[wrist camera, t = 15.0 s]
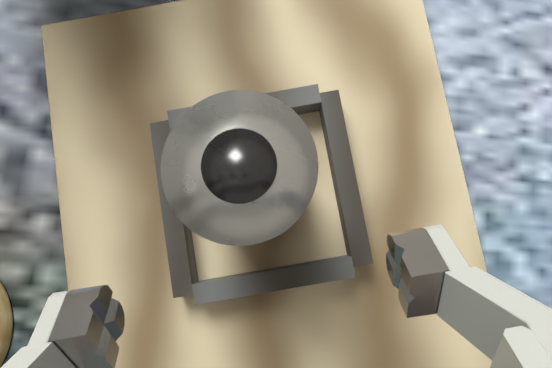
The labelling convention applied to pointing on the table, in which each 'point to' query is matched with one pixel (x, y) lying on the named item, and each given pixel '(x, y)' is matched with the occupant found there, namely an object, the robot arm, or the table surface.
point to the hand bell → (5, 323)
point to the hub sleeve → (239, 167)
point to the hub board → (312, 223)
